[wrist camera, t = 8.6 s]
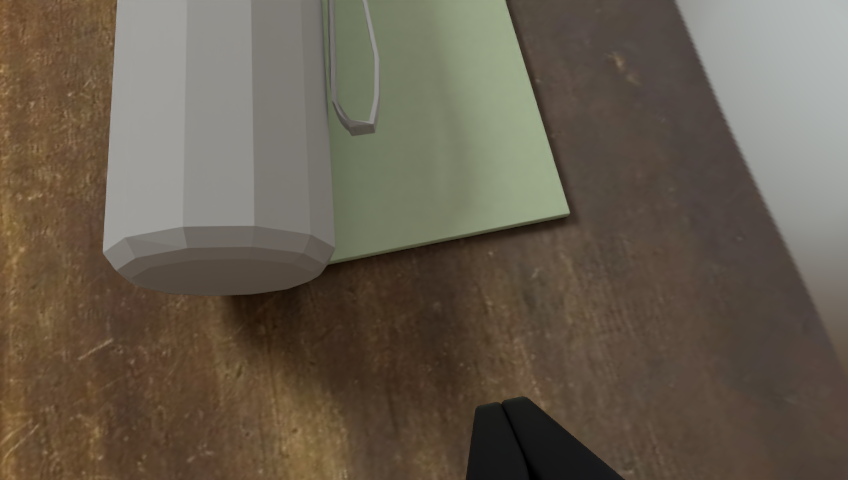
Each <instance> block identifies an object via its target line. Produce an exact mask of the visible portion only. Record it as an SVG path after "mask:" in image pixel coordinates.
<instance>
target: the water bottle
mask: <svg viewBox="0 0 848 480" xmlns="http://www.w3.org/2000/svg"><path fill="white" fill-rule="evenodd" d="M362 2H363V7H364V12H365V17H366V22H367V26H368V31H369V36H370V41H371V46H372V51H373V56H374V61H375V76H374V101H373V105H372V110H371V114H370V118H369V121H359V120H350V119H349V118H348V116H347V115H346V113H345V112H344V110H343V109H342V107H341V106H340V105H339V103H338V87H337V58H336V29H335V0H328V55H329V80H330V89H331V97H332V103H333V106H334V109H335V111H336V114H337V116H338V118H339V120H340V122H341V124H342V125H343V126H344V128H345V129H346V130H348V131H349V133H350V134H351V136H357V135H365V134H372V133H375V131H376V126H377V122H378V117H379V110H380V62H379V55H378V51H377V46H376V42H375V37H374V32H373V28H372V23H371V19H370V14H369V9H368V5H367V0H362ZM334 250H335V232H334V213H333V195H332V176H331V158H330V139H329V121H328V103H327V84H326V66H325V47H324V29H323V11H322V0H117V17H116V34H115V51H114V69H113V86H112V103H111V121H110V138H109V155H108V173H107V190H106V207H105V225H104V242H103V254H104V255H105V256H106V258H107V259H108V261H109V262H110V263H111V265H112V266H113V267H114V269H115V270H116V271H117V272H118V273H119V274H120V275H122V276H123V277H124V278H125V279H126V280H127V281H128V282H130V283H132V284H134V285H136V286H139V287H141V288H145V289H150V290H155V291H160V292H165V293H169V294H183V295H201V296H224V295H247V294H257V293H264V292H271V291H278V290H284V289H289V288H292V287H295V286H297V285H300V284H303V283H306V282H309V281H311V280H313V279H314V278H316V277H318V276H319V275H320V274H321V273H322V271H323V270H324V269H325V267H326V266H327V264H328V263H329V261H330V259H331V257H332V254H333V252H334Z"/></svg>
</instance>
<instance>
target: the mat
mask: <svg viewBox="0 0 848 480" xmlns="http://www.w3.org/2000/svg"><path fill="white" fill-rule="evenodd" d="M367 5H368V9H369V14H370V19H371V23H372V28H373V32H374V37H375V42H376V46H377V51H378V55H379V62H380V110H379V117H378V122H377V126H376V131H375V133H372V134H365V135H357V136H351V134H350V133H349V131H348V130H346V129H345V128H344V126H343V125H342V124H341V122H340V120H339V118H338V116H337V114H336V111H335V109H334V106H333V103H332V97H331V89H330V80H329V55H328V0H322V11H323V29H324V47H325V66H326V84H327V103H328V121H329V139H330V158H331V176H332V195H333V213H334V232H335V250H334V252H333V254H332V257H331V259H330V261H329V263H328V264H327V265H329V264H334V263H339V262H344V261H349V260H354V259H359V258H364V257H369V256H374V255H379V254H384V253H389V252H394V251H399V250H404V249H409V248H414V247H419V246H423V245H428V244H433V243H438V242H443V241H448V240H453V239H458V238H463V237H468V236H473V235H478V234H483V233H488V232H493V231H498V230H503V229H508V228H513V227H518V226H523V225H528V224H533V223H538V222H543V221H548V220H553V219H558V218H563V217H567V216H568V215H569V214H570V211H569V208H568V205H567V202H566V198H565V195H564V192H563V188H562V185H561V182H560V179H559V175H558V172H557V169H556V165H555V162H554V159H553V156H552V152H551V149H550V146H549V142H548V139H547V136H546V133H545V129H544V126H543V123H542V120H541V116H540V113H539V110H538V106H537V103H536V100H535V97H534V93H533V90H532V87H531V83H530V80H529V77H528V74H527V70H526V67H525V64H524V60H523V57H522V54H521V51H520V47H519V44H518V41H517V38H516V34H515V31H514V28H513V24H512V21H511V18H510V15H509V11H508V8H507V5H506V1H505V0H367ZM335 29H336V58H337V87H338V103H339V105H340V106H341V107H342V109H343V110H344V112H345V113H346V115H347V116H348V118H349V119H350V120H359V121H369V118H370V114H371V110H372V105H373V101H374V76H375V61H374V56H373V51H372V46H371V41H370V36H369V31H368V26H367V22H366V17H365V12H364V7H363V2H362V0H335Z"/></svg>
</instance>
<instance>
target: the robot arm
mask: <svg viewBox="0 0 848 480" xmlns="http://www.w3.org/2000/svg"><path fill="white" fill-rule="evenodd" d="M466 480H625V479H623V478H622V477H621V476H620V475H619V474H617V473H616V472H615V471H614V470H613V469H612V468H610V467H609V466H608V465H607V464H606V463H604V462H603V461H602V460H601V459H600V458H598V457H597V456H596V455H595V454H594V453H593V452H591V451H590V450H589V449H588V448H587V447H585V446H584V445H583V444H582V443H581V442H579V441H578V440H577V439H576V438H575V437H574V436H572V435H571V434H570V433H569V432H568V431H566V430H565V429H564V428H563V427H562V426H560V425H559V424H558V423H557V422H556V421H555V420H553V419H552V418H551V417H550V416H549V415H547V414H546V413H545V412H544V411H543V410H541V409H540V408H539V407H538V406H537V405H536V404H534V403H533V402H532V401H531V400H530V399H528V398H527V397H524V396H522V397H517V398H513V399H508V400H504V401H503V402H502V404H500V403H498V402H494V403H490V404H485V405H481V406H478V407H477V408H476V410H475V416H474V423H473V431H472V438H471V445H470V453H469V460H468V467H467V475H466Z"/></svg>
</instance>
